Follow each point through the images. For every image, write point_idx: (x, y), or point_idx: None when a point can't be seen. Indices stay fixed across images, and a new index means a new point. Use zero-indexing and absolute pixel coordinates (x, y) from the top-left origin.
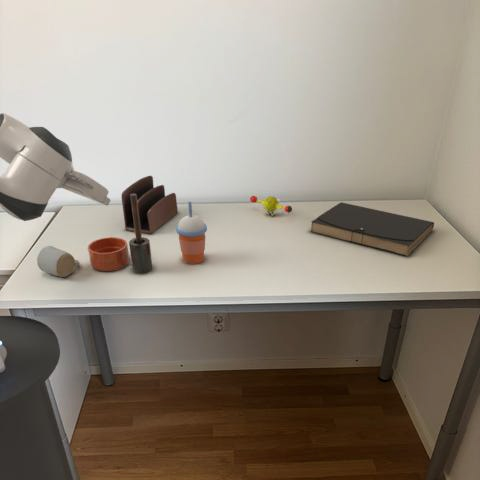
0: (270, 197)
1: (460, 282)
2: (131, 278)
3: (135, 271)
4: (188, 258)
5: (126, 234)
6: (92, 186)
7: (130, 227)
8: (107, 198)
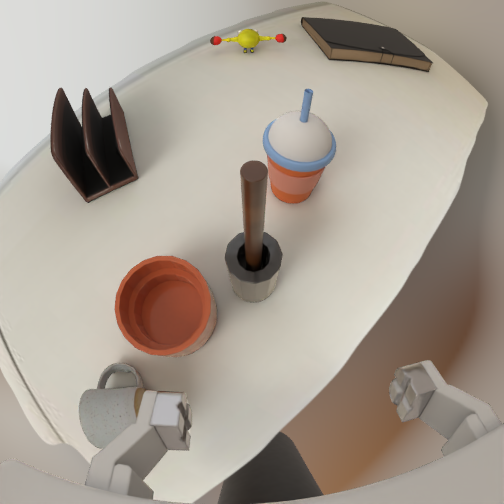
0: (248, 30)
1: (477, 95)
2: (269, 322)
3: (255, 301)
4: (303, 196)
5: (99, 211)
6: (431, 463)
7: (93, 193)
8: (438, 377)
